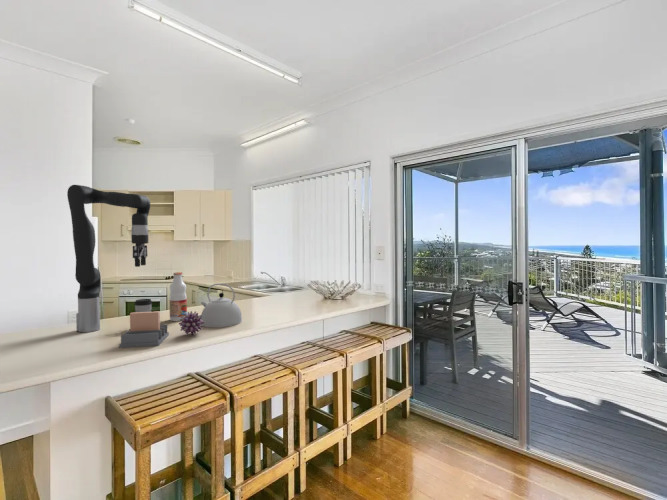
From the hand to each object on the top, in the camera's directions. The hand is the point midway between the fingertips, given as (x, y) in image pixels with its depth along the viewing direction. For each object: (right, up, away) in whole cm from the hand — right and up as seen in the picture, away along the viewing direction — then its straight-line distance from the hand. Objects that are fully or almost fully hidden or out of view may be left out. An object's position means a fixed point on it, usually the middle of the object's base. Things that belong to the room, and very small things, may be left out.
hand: (140, 266), depth 173 cm
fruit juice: (+6, -34, +29) cm, 45 cm away
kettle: (+33, -34, +23) cm, 52 cm away
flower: (+28, -35, -3) cm, 44 cm away
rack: (+10, -35, -14) cm, 39 cm away
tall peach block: (+10, -33, -14) cm, 37 cm away
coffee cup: (-4, -34, +10) cm, 36 cm away
